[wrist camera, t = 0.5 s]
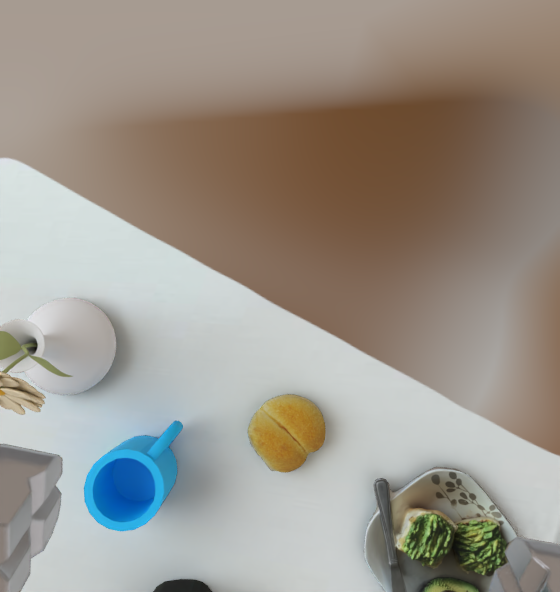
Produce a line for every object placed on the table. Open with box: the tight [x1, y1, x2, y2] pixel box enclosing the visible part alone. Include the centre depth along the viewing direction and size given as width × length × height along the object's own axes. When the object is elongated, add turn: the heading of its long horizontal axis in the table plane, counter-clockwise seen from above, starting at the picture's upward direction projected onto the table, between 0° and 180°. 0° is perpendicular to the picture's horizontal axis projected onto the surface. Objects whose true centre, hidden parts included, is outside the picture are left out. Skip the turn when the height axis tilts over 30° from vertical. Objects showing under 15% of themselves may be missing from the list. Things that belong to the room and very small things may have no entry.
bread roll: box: [248, 394, 325, 472], centre depth 59 cm, size 8×9×4 cm
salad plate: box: [364, 467, 518, 592], centre depth 58 cm, size 19×18×5 cm
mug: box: [84, 421, 183, 531], centre depth 56 cm, size 12×8×8 cm
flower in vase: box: [0, 298, 116, 415], centre depth 49 cm, size 13×11×25 cm
